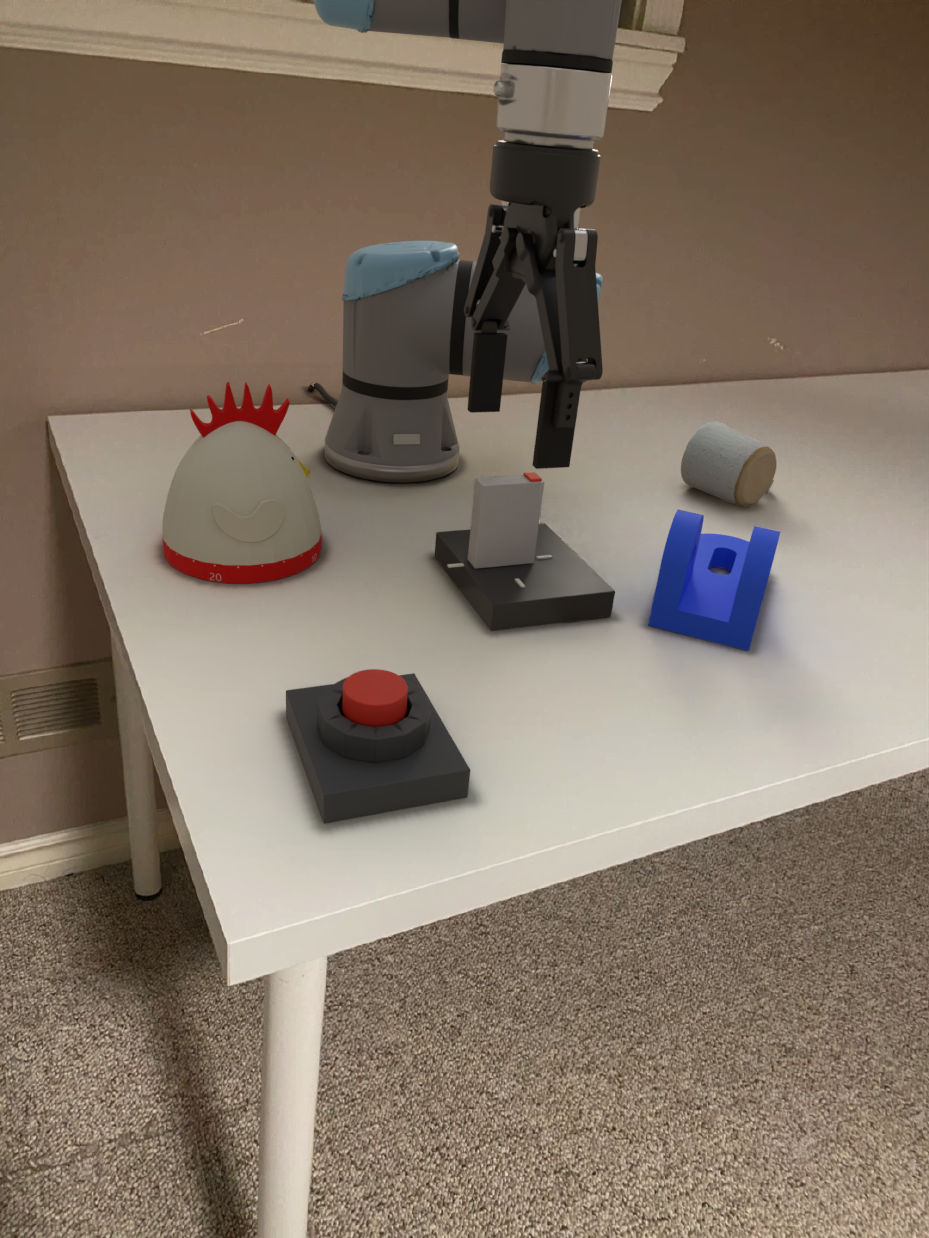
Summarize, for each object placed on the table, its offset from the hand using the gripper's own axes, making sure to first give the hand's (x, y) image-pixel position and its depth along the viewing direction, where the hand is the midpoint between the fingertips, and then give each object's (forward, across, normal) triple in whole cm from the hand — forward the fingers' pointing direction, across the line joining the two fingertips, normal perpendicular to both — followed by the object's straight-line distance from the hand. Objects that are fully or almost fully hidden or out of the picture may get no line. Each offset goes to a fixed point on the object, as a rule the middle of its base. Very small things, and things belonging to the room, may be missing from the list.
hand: (514, 437), depth 76 cm
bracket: (+14, +5, +19) cm, 24 cm away
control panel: (+14, 0, +2) cm, 14 cm away
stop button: (+10, +20, -17) cm, 28 cm away
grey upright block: (+11, 0, 0) cm, 11 cm away
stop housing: (+14, +20, -17) cm, 29 cm away
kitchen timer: (+14, -12, -20) cm, 27 cm away
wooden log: (+14, -16, +35) cm, 41 cm away
